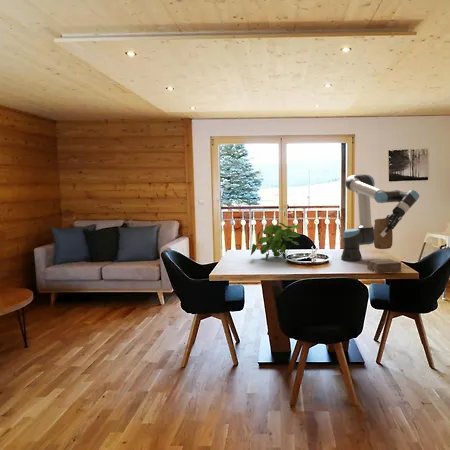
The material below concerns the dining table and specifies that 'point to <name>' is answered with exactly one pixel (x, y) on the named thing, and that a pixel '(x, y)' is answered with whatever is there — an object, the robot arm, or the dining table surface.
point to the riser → (384, 265)
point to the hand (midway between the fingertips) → (378, 235)
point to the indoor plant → (275, 239)
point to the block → (378, 239)
